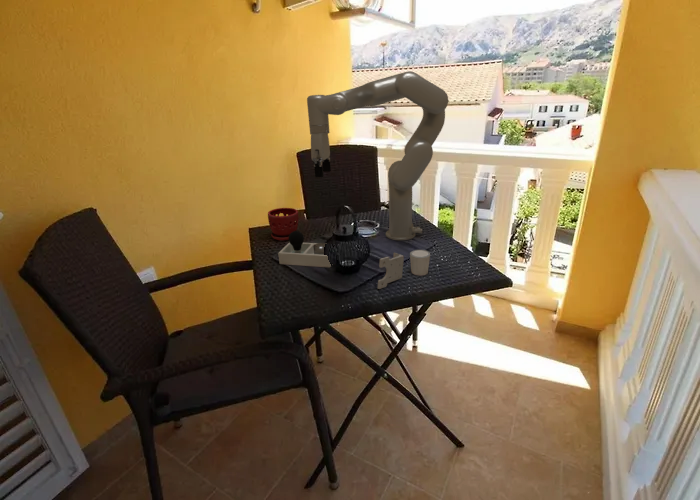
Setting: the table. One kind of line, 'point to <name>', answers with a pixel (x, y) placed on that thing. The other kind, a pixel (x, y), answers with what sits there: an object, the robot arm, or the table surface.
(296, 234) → the light bulb
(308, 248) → the box
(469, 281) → the table surface
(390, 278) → the bracket
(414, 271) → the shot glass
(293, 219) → the plant pot
